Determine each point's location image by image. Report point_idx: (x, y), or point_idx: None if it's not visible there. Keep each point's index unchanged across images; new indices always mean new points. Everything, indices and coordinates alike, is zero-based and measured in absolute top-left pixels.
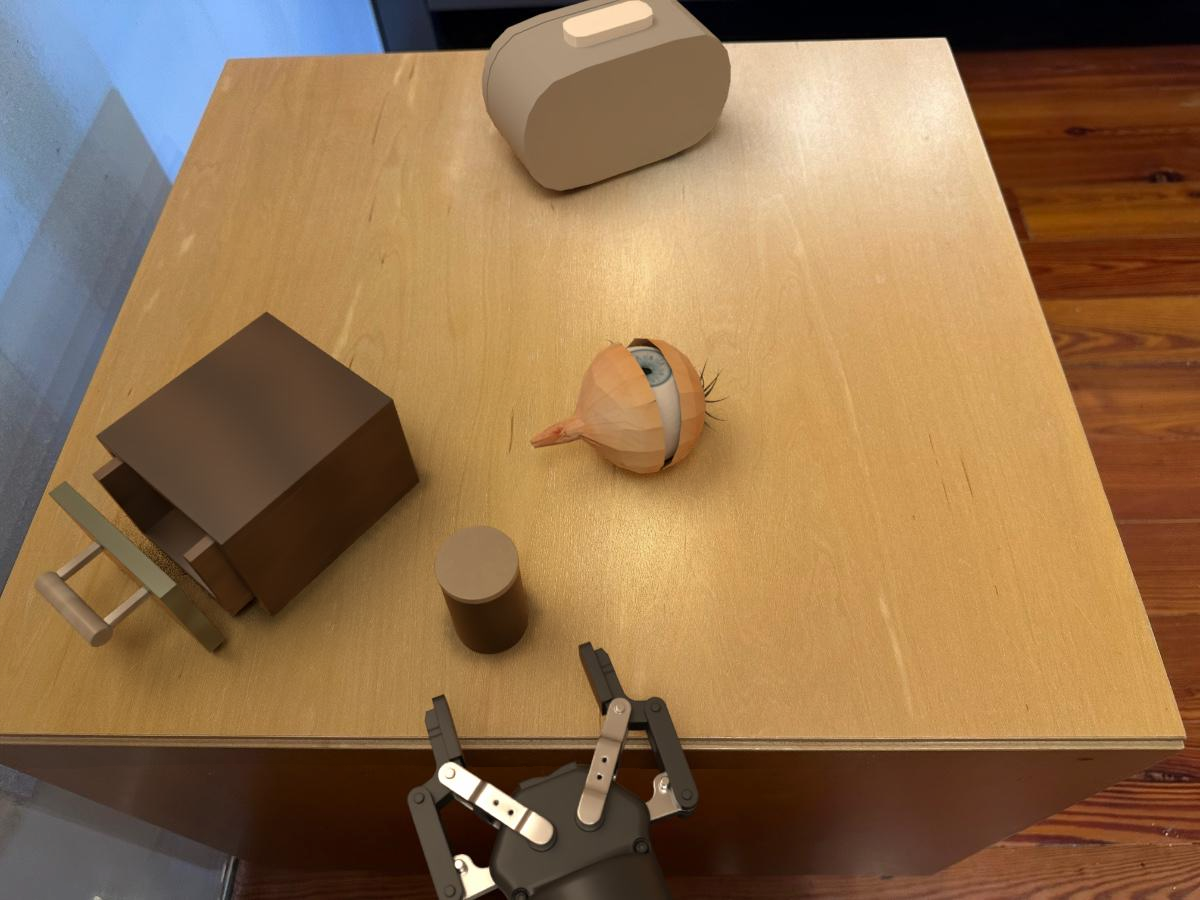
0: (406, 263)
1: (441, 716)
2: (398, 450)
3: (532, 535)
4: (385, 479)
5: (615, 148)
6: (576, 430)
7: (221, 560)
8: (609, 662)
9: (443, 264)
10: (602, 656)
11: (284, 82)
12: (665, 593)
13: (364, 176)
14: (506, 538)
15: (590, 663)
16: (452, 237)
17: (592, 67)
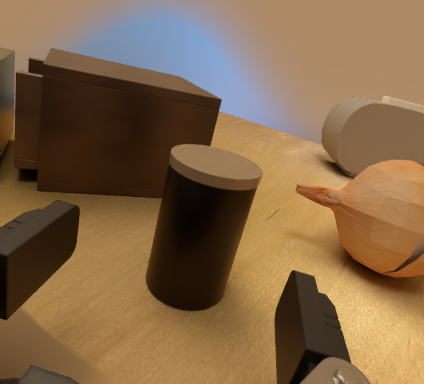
0: (251, 155)
1: (46, 212)
2: None
3: (257, 259)
4: None
5: None
6: (337, 196)
7: (38, 101)
8: (334, 316)
9: (270, 162)
10: (324, 303)
11: (235, 118)
12: (380, 371)
13: (250, 137)
14: (256, 166)
15: (304, 292)
16: (279, 160)
17: (396, 107)
